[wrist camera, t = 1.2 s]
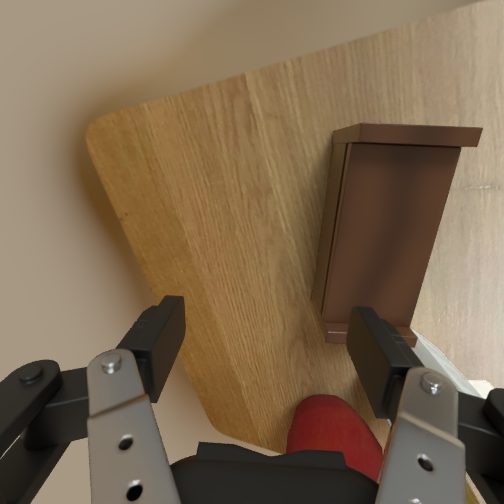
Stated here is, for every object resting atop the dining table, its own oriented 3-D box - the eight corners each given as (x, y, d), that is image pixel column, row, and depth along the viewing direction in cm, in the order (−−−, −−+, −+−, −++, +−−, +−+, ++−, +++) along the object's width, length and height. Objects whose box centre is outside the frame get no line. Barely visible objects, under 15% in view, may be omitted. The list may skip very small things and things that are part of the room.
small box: (390, 386, 36) (438, 474, 26) (359, 365, 35) (397, 448, 25) (439, 347, 34) (512, 428, 24) (407, 323, 33) (470, 398, 23)
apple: (308, 442, 40) (325, 551, 29) (265, 398, 38) (267, 499, 27) (375, 411, 38) (421, 518, 27) (334, 361, 35) (367, 457, 24)
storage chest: (310, 298, 32) (325, 343, 24) (333, 130, 26) (361, 122, 18) (379, 302, 32) (415, 348, 24) (419, 134, 26) (483, 127, 18)
